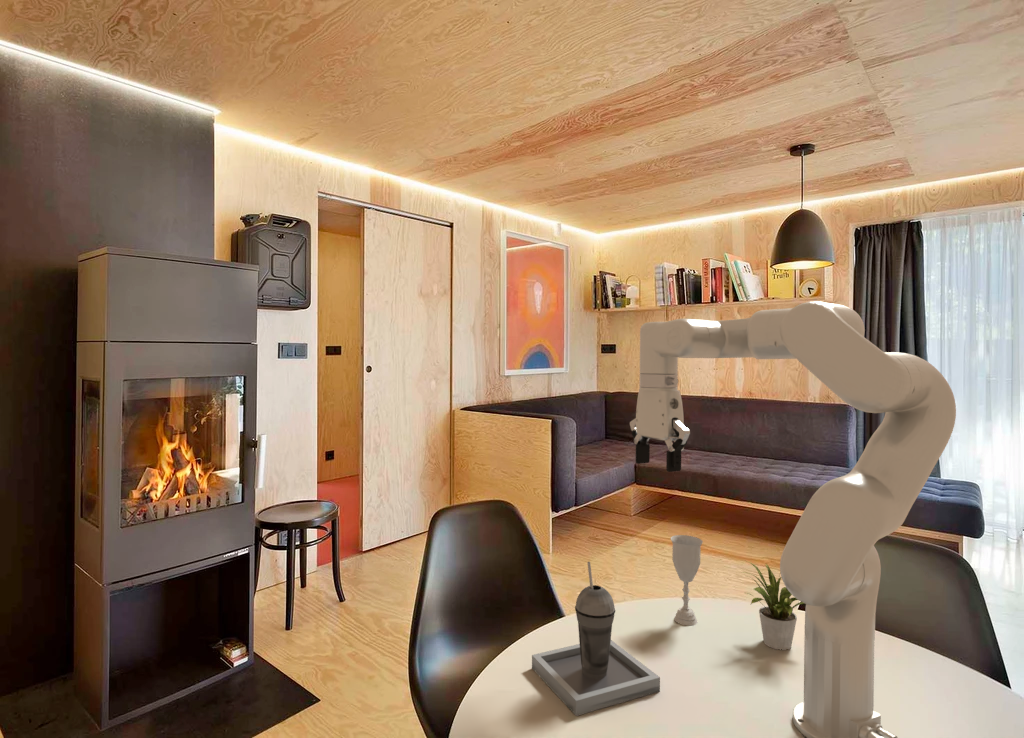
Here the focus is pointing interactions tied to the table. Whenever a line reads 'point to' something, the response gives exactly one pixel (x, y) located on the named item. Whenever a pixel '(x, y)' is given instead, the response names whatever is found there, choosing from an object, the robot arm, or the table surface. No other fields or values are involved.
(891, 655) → the table surface
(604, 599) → the beverage cup
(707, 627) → the table surface
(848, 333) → the robot arm
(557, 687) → the tray
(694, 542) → the chalice
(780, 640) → the house plant
